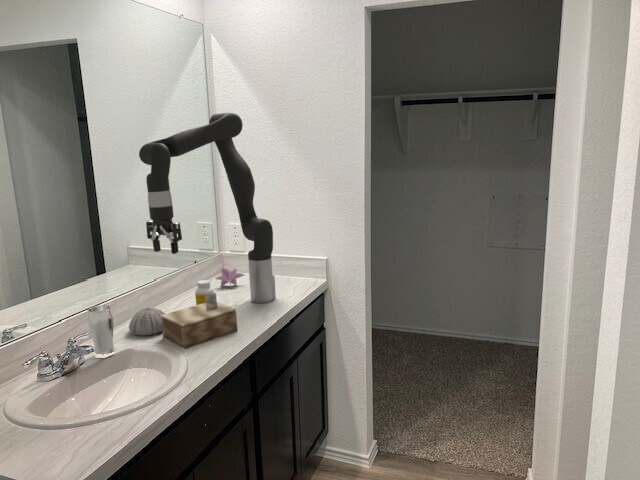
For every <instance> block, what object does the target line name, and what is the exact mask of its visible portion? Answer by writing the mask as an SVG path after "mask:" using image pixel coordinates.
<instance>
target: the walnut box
mask: <svg viewBox="0 0 640 480" xmlns="http://www.w3.org/2000/svg"><path fill="white" fill-rule="evenodd" d="M162 328H163V331H162V335H163V337H162V338H163V339H165V340H167V341H169V342H171V343H173V344H175V345H176V346H178V347H180V348H183V349H185V350H186V349H189V348H191V347H194V346H197V345H200V344H203V343H206V342H209V341H212V340H215V339H218V338H220V337H223V336H227V335H230V334H232V333H236V332H238V319H237V310H236V311H233V312H229V313H226V314H223V315H220V316H216V317H213V318H210V319H207V320H203V321H200V322H197V323H194V324H190V325H187V326H184V327H182V326H180V325H178V324H176V323H173V322H171V321H169V320H167V319H165V318H163V317H162Z"/></svg>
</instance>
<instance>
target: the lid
mask: <svg viewBox="0 0 640 480" xmlns="http://www.w3.org/2000/svg"><path fill="white" fill-rule="evenodd" d="M205 297H206V303H203V304H199V305H196V304H195V305H193V306H190V307H186V308H183V309H179V310H178V309H177V310H174V311H172V312H168V313H165V314H164V315H161V317H163V318H165V319H167V320H169V321H171V322H173V323H176V324H178V325H180V326H182V327H184V326H187V325H190V324H194V323H197V322H200V321H203V320H207V319H210V318H213V317H216V316H220V315H223V314H226V313H229V312H233V311H236V312H237V309H236V308H234V307H232V306H229V305H227V304H224V303H222V302H218V300H217V293H216V292H214V293H207V294H205Z"/></svg>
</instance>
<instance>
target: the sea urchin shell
mask: <svg viewBox="0 0 640 480" xmlns="http://www.w3.org/2000/svg"><path fill="white" fill-rule="evenodd" d="M164 314H166V313H165V312H164V311H162V310H161V309H159V308H156V307H146V308H143V309H142V308H141V309H140V310H138V311H137V312H136V313H135V314H134V315H133V317H132V318H131V320H130V322H129V323H128V329H129V331H130V332H131V334H133V335H135V336H151V335H157V334H158V333H159V334H160V333H161V332H163V328H162V317H161V315H164Z"/></svg>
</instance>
